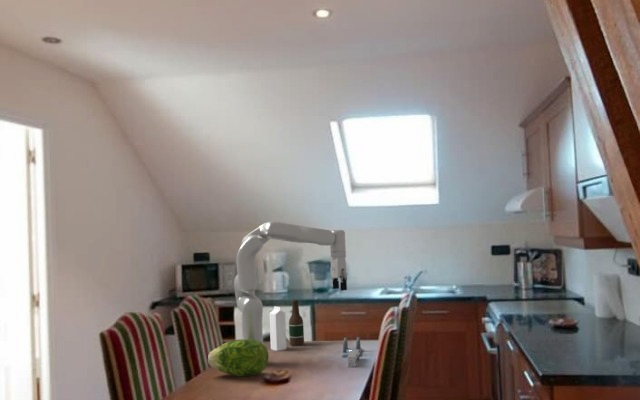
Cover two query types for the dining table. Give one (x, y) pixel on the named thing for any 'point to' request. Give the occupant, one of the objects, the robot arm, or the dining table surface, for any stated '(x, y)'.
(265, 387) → the dining table surface
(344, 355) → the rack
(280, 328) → the milk
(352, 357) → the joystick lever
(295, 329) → the beer bottle
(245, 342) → the lettuce
